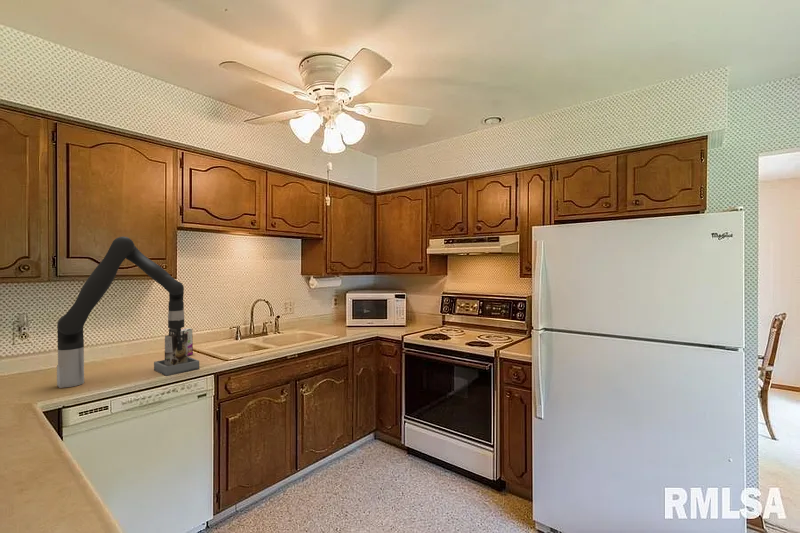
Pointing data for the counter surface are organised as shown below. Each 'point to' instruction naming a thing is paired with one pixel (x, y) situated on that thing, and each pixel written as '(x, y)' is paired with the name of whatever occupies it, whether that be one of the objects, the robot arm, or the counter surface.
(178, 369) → the box
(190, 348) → the candy bar box
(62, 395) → the counter surface
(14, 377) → the counter surface
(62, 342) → the robot arm
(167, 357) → the coffee box
